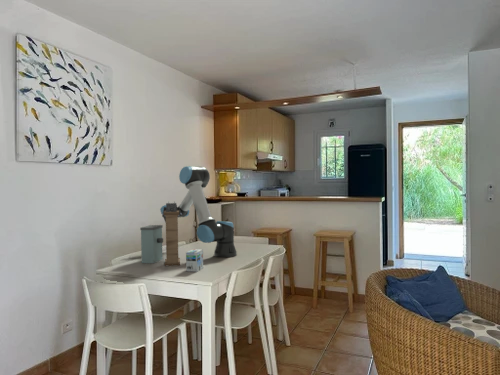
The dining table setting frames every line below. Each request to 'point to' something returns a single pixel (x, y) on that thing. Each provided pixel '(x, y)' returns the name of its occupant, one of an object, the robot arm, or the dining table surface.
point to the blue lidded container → (151, 243)
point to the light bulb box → (194, 260)
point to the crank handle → (171, 207)
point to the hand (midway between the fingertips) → (171, 203)
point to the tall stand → (172, 238)
